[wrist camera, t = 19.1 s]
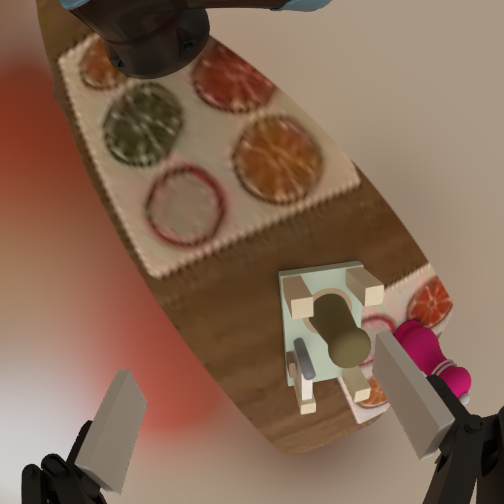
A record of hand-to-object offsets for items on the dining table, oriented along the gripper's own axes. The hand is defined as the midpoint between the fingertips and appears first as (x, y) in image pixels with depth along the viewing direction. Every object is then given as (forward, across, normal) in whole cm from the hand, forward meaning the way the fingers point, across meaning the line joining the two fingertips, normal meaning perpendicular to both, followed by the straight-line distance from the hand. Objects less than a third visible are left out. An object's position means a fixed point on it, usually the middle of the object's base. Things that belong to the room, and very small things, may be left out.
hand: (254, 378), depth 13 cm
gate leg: (+23, +5, -21) cm, 31 cm away
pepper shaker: (+24, +10, -12) cm, 28 cm away
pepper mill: (+26, +26, -22) cm, 42 cm away
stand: (+25, +9, -15) cm, 31 cm away
